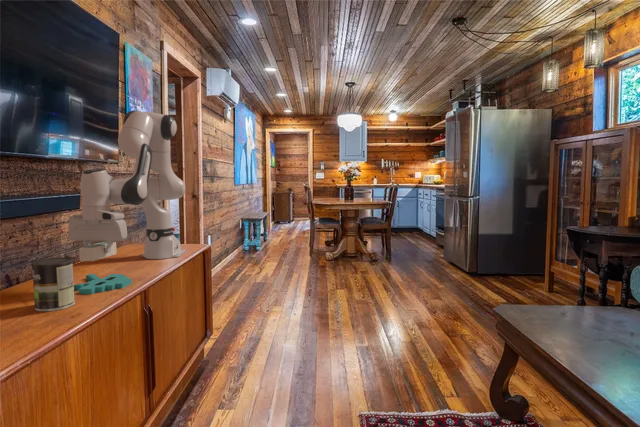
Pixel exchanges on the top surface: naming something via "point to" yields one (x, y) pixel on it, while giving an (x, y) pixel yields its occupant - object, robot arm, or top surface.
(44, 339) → the top surface
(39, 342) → the top surface
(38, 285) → the coffee can
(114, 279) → the alien figure
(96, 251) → the beige rectangular block
